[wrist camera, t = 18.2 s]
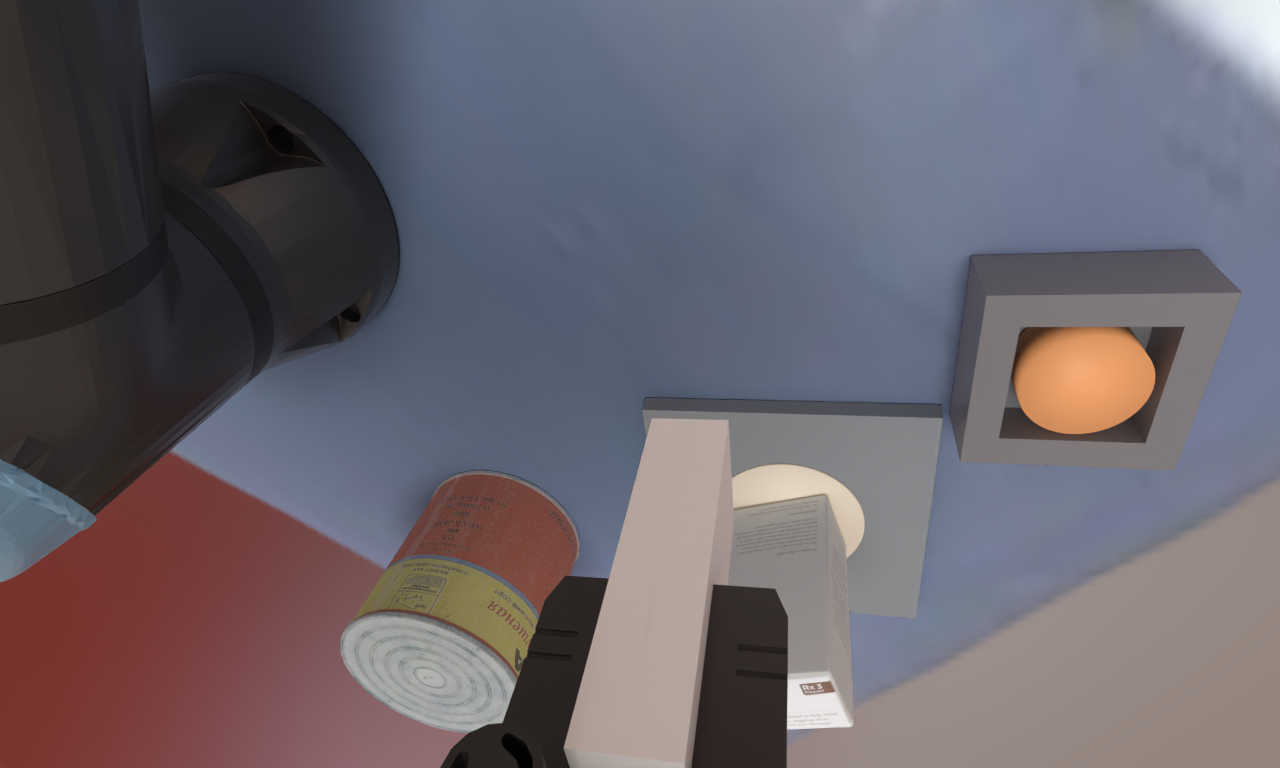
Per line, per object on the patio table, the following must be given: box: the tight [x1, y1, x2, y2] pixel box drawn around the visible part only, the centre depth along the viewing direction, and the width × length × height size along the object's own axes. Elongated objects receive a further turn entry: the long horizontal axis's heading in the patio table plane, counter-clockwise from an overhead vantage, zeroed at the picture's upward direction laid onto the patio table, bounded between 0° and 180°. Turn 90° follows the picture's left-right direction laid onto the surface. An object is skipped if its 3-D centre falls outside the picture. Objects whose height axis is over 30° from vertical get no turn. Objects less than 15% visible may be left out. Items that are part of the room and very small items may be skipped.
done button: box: [1011, 327, 1155, 434], centre depth 32 cm, size 5×5×2 cm
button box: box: [949, 250, 1242, 470], centre depth 32 cm, size 9×9×4 cm
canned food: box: [340, 470, 580, 733], centre depth 46 cm, size 11×11×12 cm
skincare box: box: [728, 495, 854, 729], centre depth 38 cm, size 6×4×12 cm
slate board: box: [642, 398, 943, 618], centre depth 43 cm, size 16×16×1 cm
